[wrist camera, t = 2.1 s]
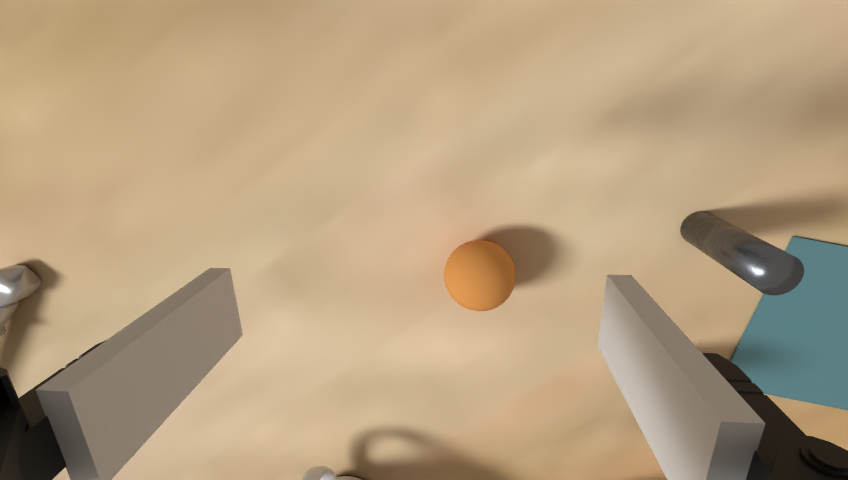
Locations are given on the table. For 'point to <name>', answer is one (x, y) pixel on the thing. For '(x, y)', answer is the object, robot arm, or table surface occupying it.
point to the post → (743, 254)
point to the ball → (479, 275)
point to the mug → (324, 474)
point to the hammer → (15, 290)
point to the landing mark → (803, 331)
